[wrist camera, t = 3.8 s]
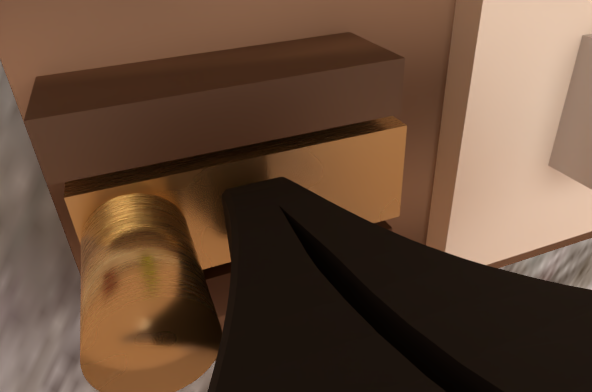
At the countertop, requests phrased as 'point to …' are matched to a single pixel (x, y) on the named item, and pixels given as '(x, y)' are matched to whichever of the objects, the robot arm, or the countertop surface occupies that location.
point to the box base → (225, 86)
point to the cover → (514, 129)
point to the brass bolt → (199, 243)
